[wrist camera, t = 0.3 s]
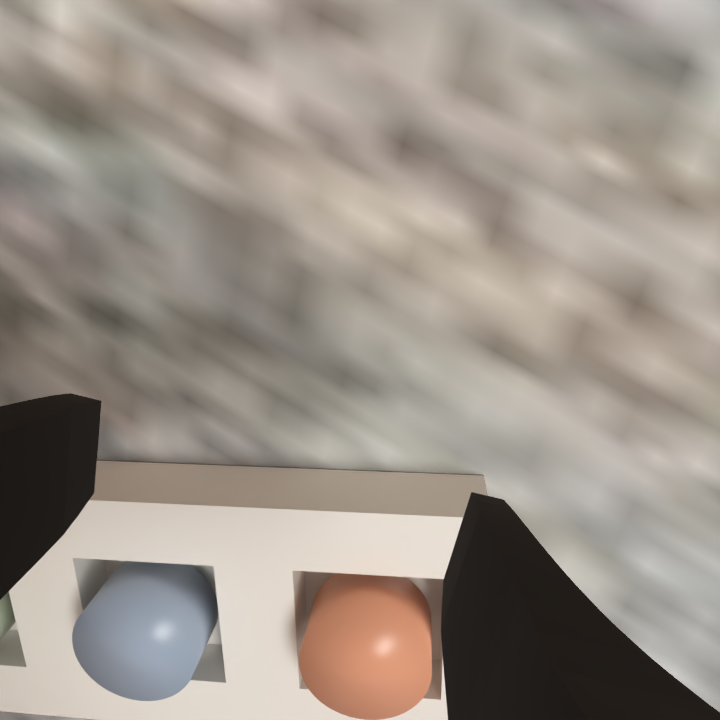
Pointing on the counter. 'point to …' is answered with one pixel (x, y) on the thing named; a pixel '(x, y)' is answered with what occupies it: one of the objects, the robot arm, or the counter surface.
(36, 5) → the counter surface
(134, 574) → the blue button
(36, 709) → the button panel
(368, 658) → the terracotta button
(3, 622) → the green button
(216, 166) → the counter surface
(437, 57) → the counter surface
